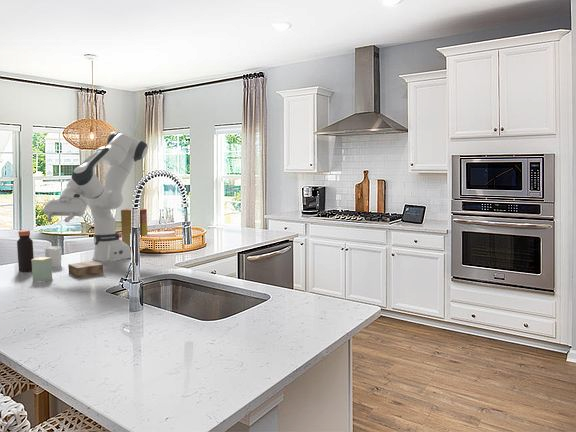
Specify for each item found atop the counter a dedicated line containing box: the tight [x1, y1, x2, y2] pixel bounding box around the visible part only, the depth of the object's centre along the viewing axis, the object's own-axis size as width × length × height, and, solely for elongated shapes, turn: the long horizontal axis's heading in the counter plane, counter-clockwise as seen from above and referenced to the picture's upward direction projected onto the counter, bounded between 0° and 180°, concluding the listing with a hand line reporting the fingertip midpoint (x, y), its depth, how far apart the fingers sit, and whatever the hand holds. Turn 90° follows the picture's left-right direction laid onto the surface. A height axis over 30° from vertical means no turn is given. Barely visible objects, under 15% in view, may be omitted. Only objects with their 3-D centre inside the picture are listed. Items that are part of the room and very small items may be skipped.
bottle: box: [16, 229, 35, 273], centre depth 233 cm, size 7×7×20 cm
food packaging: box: [120, 208, 148, 251], centre depth 294 cm, size 13×9×25 cm
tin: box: [31, 256, 53, 283], centre depth 214 cm, size 6×6×10 cm
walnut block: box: [67, 260, 104, 279], centre depth 226 cm, size 12×12×5 cm
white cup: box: [43, 245, 62, 269], centre depth 243 cm, size 8×8×10 cm
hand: (57, 221), depth 224 cm, fingers open, 8 cm apart
